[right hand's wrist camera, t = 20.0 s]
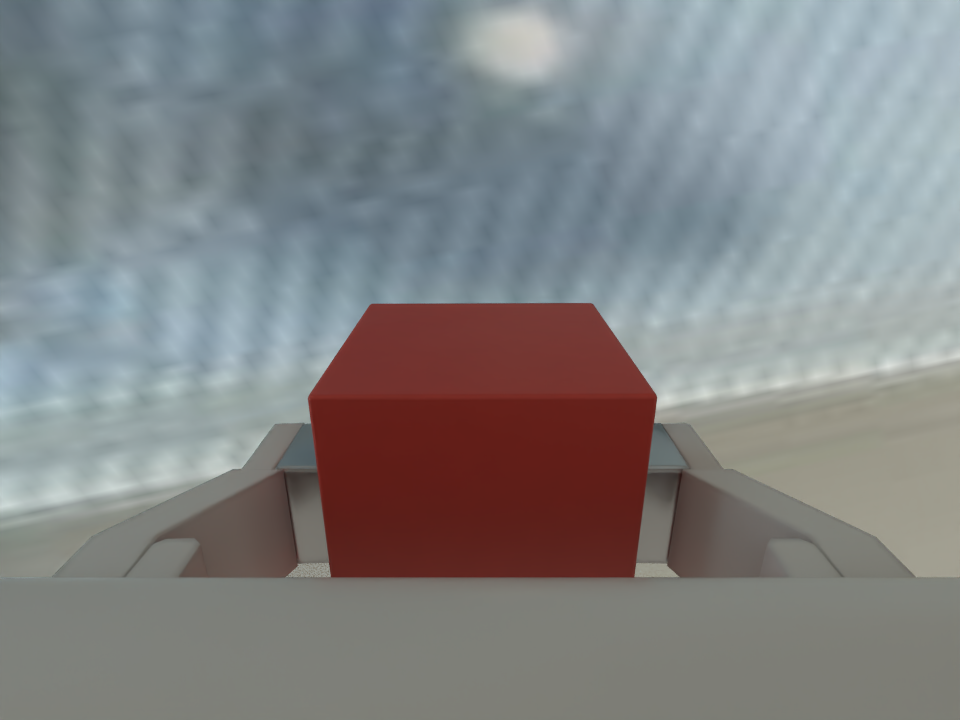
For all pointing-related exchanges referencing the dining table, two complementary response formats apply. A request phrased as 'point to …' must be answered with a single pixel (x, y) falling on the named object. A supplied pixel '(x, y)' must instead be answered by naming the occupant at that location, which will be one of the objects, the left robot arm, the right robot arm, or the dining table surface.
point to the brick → (482, 443)
